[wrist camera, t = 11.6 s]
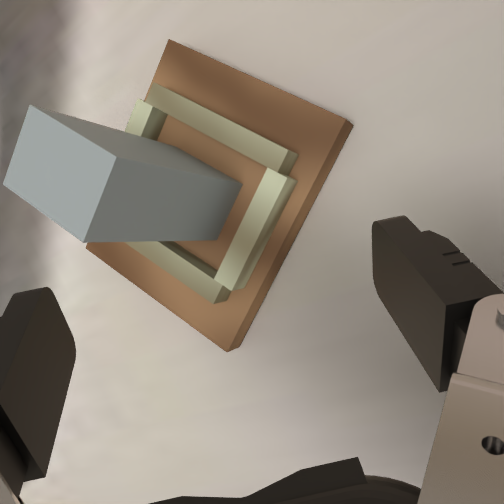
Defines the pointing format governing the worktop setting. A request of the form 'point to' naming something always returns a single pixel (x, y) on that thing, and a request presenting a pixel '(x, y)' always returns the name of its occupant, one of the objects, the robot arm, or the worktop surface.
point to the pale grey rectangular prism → (116, 182)
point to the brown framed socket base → (239, 168)
